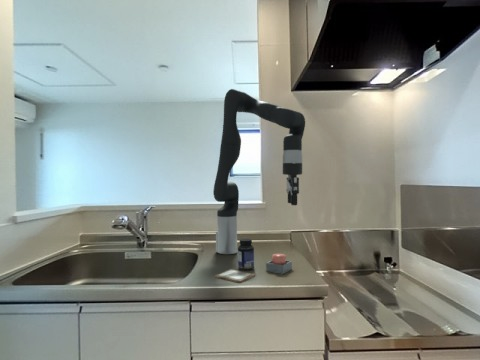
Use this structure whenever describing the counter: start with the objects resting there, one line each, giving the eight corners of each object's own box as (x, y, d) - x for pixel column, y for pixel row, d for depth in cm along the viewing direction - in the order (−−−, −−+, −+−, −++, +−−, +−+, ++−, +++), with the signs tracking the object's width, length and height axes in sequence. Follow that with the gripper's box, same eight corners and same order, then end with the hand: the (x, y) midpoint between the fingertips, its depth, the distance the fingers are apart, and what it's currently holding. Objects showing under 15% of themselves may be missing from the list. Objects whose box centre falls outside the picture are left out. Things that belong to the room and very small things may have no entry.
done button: (269, 266, 109) (269, 255, 109) (276, 263, 113) (276, 253, 113) (282, 268, 106) (281, 257, 106) (288, 265, 110) (287, 254, 110)
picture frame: (214, 277, 102) (214, 274, 102) (230, 270, 110) (230, 268, 110) (240, 283, 96) (240, 280, 96) (255, 275, 103) (255, 273, 103)
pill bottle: (256, 267, 114) (255, 238, 114) (251, 271, 108) (251, 241, 108) (241, 265, 116) (240, 237, 116) (235, 270, 110) (235, 240, 110)
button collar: (266, 270, 109) (266, 262, 109) (275, 266, 115) (275, 258, 115) (283, 274, 105) (283, 265, 105) (291, 269, 111) (291, 261, 111)
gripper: (280, 163, 121) (280, 202, 121) (285, 161, 107) (285, 205, 107) (298, 163, 121) (298, 202, 121) (306, 161, 107) (305, 206, 107)
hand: (292, 204), depth 114 cm, fingers open, 8 cm apart
